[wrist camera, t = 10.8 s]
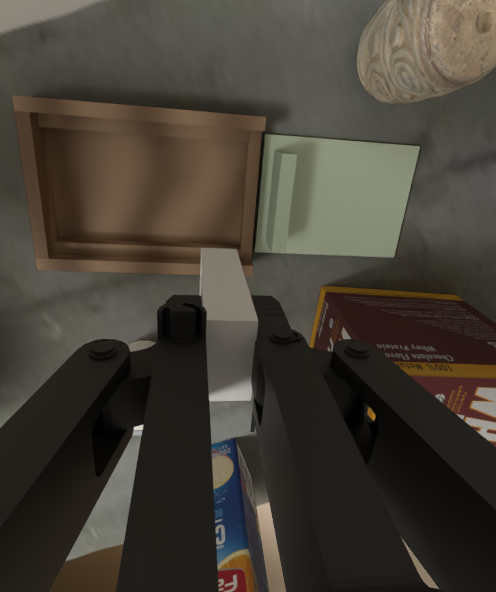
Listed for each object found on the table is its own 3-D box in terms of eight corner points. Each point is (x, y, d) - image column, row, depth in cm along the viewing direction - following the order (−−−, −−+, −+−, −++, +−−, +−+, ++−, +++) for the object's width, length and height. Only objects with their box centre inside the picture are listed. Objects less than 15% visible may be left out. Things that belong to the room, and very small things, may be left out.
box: (51, 256, 36) (37, 270, 33) (30, 96, 31) (11, 95, 28) (247, 263, 39) (252, 276, 36) (259, 116, 33) (266, 116, 30)
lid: (253, 249, 39) (260, 264, 35) (263, 133, 35) (272, 135, 31) (389, 254, 41) (411, 269, 37) (414, 145, 36) (441, 149, 32)
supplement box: (319, 284, 41) (384, 374, 27) (456, 293, 43) (583, 381, 29) (301, 369, 45) (349, 487, 31) (428, 374, 47) (527, 485, 33)
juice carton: (236, 437, 48) (268, 707, 26) (252, 479, 51) (294, 751, 29) (140, 466, 48) (92, 759, 26) (163, 506, 51) (137, 797, 29)
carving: (424, -10, 31) (545, -77, 20) (423, 96, 34) (528, 88, 23) (345, 5, 31) (425, -54, 20) (352, 111, 34) (424, 109, 23)
